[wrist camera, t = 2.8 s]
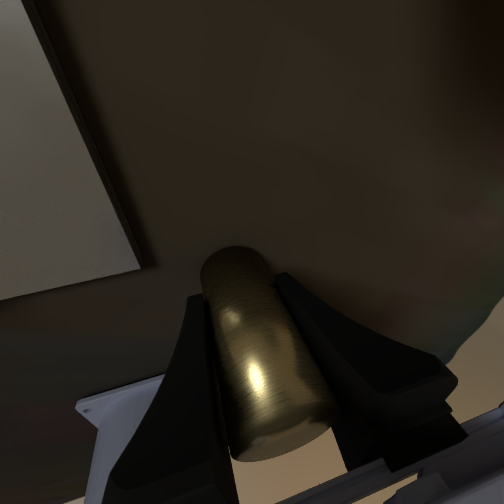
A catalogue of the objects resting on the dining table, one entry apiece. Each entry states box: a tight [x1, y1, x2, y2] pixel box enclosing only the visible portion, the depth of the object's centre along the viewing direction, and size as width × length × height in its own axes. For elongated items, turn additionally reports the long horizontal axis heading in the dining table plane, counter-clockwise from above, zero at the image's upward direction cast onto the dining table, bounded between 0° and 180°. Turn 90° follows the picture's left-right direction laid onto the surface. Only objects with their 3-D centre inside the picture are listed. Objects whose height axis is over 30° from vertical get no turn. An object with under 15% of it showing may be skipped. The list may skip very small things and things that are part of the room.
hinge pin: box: [200, 246, 341, 462], centre depth 11 cm, size 4×4×8 cm
